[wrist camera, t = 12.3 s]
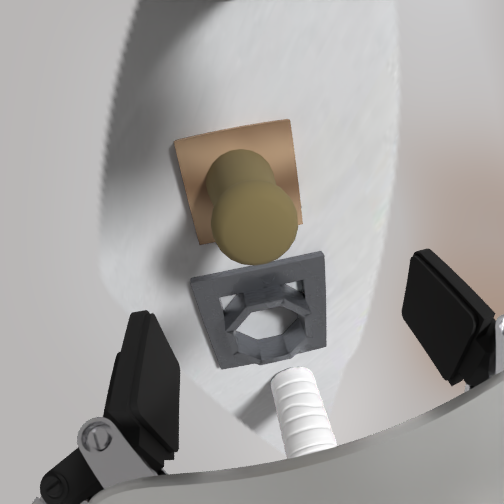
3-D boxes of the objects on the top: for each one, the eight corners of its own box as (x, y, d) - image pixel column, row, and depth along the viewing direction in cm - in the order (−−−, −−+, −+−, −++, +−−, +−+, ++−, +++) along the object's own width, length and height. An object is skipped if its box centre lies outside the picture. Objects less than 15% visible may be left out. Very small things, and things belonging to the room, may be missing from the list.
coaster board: (175, 140, 25) (173, 141, 24) (287, 119, 25) (289, 119, 24) (200, 240, 29) (199, 245, 29) (299, 220, 30) (302, 224, 29)
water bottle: (268, 371, 40) (307, 542, 18) (313, 361, 40) (370, 524, 18) (272, 402, 44) (305, 545, 22) (312, 394, 45) (355, 532, 23)
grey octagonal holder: (190, 278, 31) (189, 298, 28) (321, 250, 32) (332, 267, 29) (220, 363, 38) (222, 384, 35) (324, 341, 39) (332, 360, 35)
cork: (218, 223, 28) (223, 293, 18) (196, 161, 25) (186, 202, 15) (281, 203, 28) (320, 263, 18) (264, 140, 25) (299, 167, 15)
